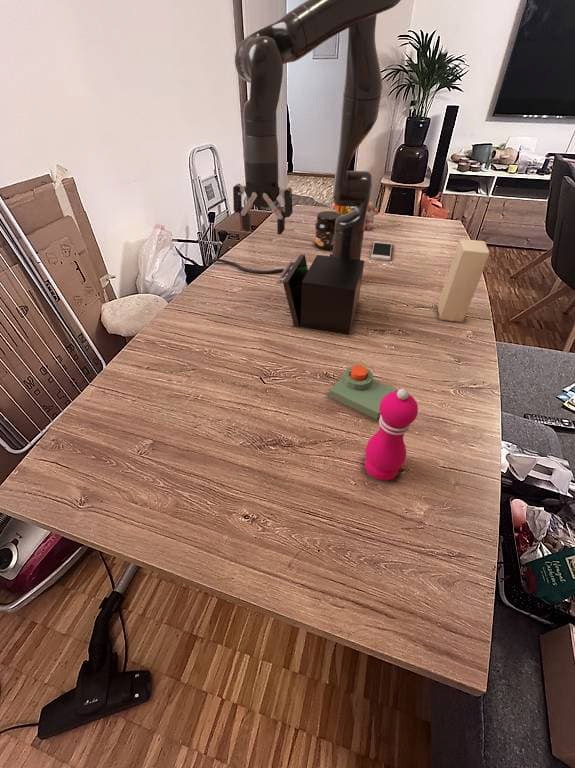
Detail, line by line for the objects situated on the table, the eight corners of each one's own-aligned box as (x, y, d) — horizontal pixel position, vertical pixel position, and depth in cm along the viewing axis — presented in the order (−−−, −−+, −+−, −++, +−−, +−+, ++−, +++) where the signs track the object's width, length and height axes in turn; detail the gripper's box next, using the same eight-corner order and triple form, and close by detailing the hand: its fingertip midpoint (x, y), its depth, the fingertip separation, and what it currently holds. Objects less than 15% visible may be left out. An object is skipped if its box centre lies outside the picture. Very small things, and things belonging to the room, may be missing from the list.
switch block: (329, 397, 85) (330, 384, 83) (349, 374, 91) (351, 361, 89) (376, 420, 80) (380, 407, 78) (395, 394, 86) (399, 382, 84)
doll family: (376, 228, 165) (382, 196, 156) (371, 236, 159) (376, 203, 150) (331, 221, 172) (334, 190, 163) (324, 228, 165) (326, 196, 156)
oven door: (284, 327, 108) (272, 282, 100) (300, 297, 121) (290, 256, 113) (299, 326, 106) (288, 281, 98) (313, 296, 119) (304, 254, 111)
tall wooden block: (465, 323, 109) (493, 252, 95) (439, 320, 110) (462, 250, 96) (462, 309, 115) (487, 240, 101) (437, 306, 116) (458, 238, 102)
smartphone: (370, 258, 142) (371, 256, 141) (373, 243, 153) (374, 240, 152) (389, 260, 140) (390, 258, 140) (391, 245, 151) (392, 242, 151)
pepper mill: (358, 452, 74) (375, 376, 60) (394, 450, 74) (418, 373, 61) (367, 484, 68) (387, 408, 55) (405, 481, 69) (435, 405, 56)
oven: (300, 327, 107) (301, 281, 97) (314, 297, 120) (316, 254, 110) (348, 335, 104) (355, 289, 94) (358, 303, 117) (364, 260, 107)
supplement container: (309, 243, 152) (311, 212, 144) (332, 239, 156) (335, 209, 148) (321, 253, 145) (323, 221, 137) (345, 248, 148) (348, 217, 140)
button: (347, 377, 85) (348, 371, 84) (355, 369, 87) (355, 363, 86) (361, 383, 84) (362, 377, 82) (368, 375, 86) (370, 369, 85)
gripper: (296, 157, 85) (294, 230, 96) (237, 153, 88) (241, 224, 98) (287, 163, 80) (287, 240, 90) (225, 159, 82) (231, 234, 93)
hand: (263, 232), depth 94 cm, fingers open, 8 cm apart
